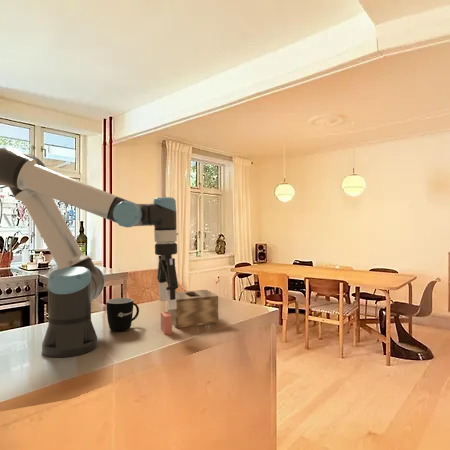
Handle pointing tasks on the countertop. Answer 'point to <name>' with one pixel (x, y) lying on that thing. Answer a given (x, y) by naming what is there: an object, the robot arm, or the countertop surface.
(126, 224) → the robot arm
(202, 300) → the coin box
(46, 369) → the countertop surface
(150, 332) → the countertop surface
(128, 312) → the mug
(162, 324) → the block
